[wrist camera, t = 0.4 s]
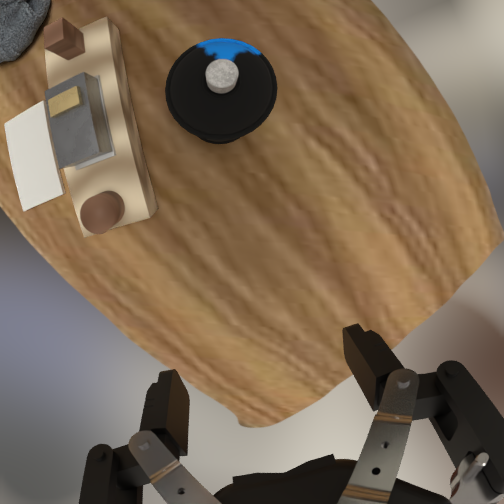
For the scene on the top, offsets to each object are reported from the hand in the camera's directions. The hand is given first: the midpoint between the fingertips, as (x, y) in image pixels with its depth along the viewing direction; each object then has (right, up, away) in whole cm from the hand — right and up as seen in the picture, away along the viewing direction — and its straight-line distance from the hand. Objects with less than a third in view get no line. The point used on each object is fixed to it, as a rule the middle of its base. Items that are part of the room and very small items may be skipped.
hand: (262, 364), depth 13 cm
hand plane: (-20, +22, +19) cm, 35 cm away
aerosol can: (-4, +22, +21) cm, 31 cm away
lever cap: (-19, +20, +14) cm, 31 cm away
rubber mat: (-31, +19, +19) cm, 41 cm away
